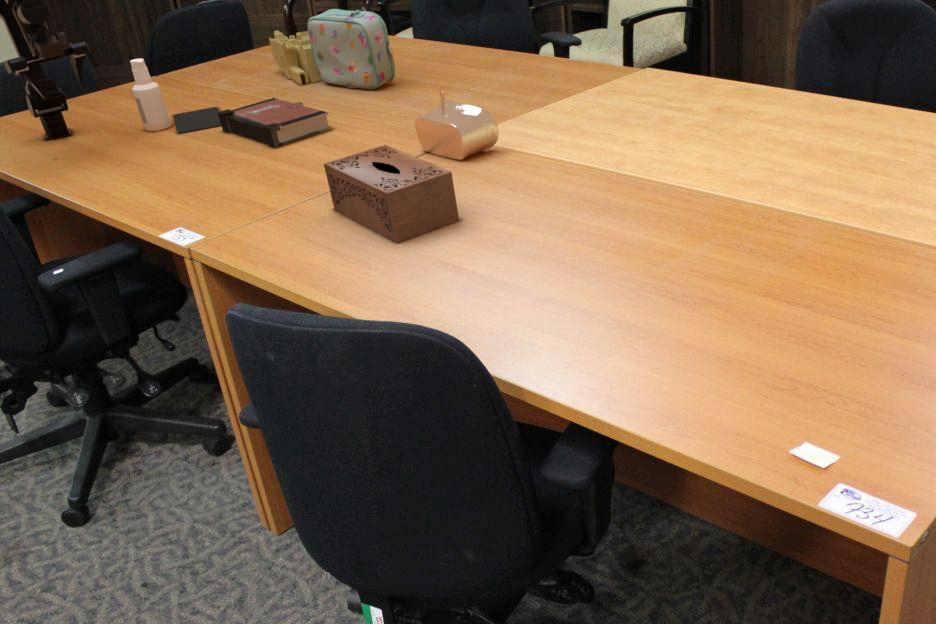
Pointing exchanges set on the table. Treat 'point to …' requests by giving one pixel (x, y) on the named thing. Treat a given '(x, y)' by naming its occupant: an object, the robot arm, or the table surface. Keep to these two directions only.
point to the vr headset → (456, 130)
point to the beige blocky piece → (295, 57)
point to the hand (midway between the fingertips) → (64, 92)
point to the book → (274, 122)
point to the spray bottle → (149, 98)
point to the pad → (197, 120)
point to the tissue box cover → (392, 192)
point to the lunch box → (351, 48)
